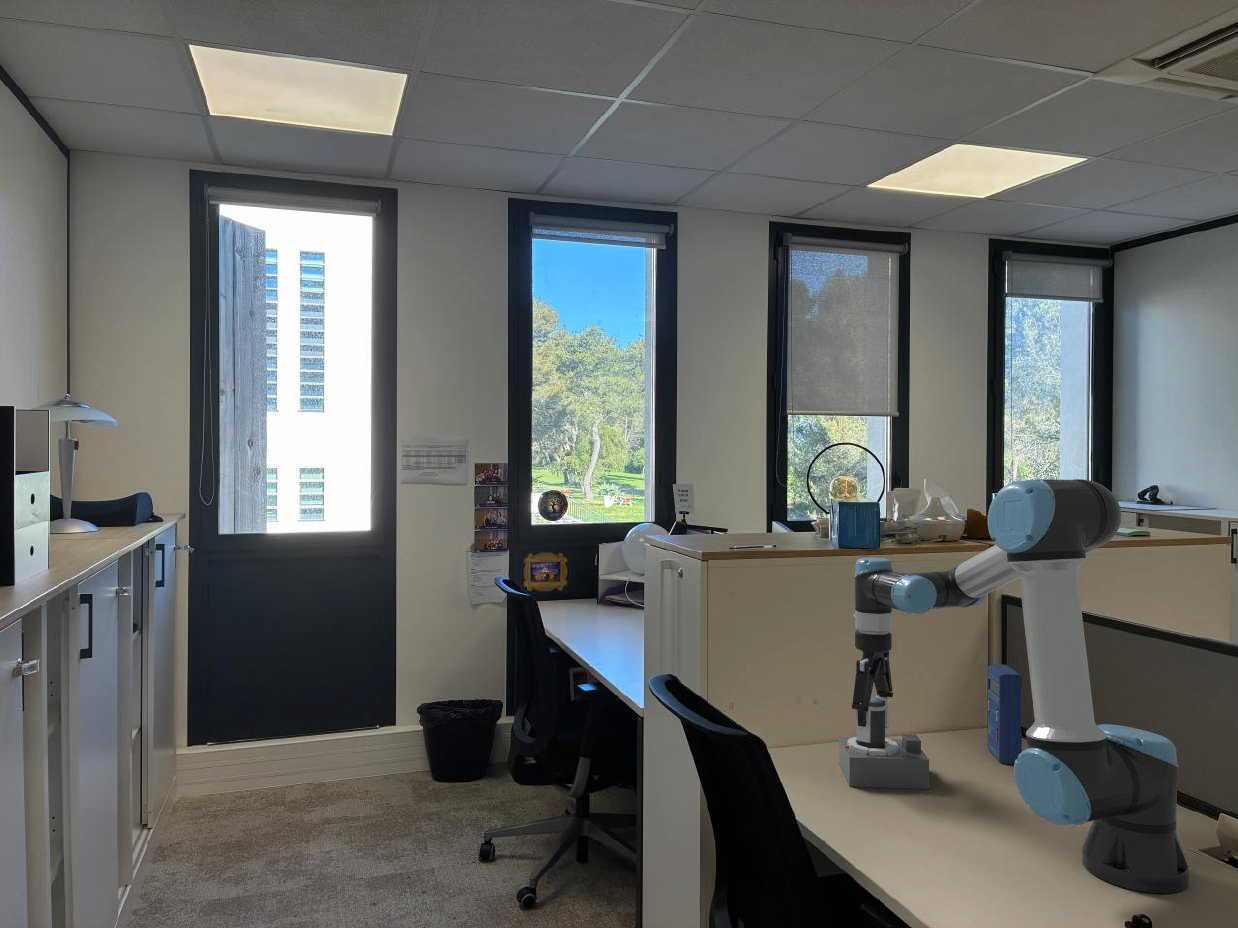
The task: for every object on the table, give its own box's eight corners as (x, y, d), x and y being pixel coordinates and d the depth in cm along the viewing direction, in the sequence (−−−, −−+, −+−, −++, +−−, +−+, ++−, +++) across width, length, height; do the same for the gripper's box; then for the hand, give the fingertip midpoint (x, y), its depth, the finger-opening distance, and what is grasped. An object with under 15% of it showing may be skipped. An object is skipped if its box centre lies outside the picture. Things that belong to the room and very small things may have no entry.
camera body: (929, 788, 180) (929, 747, 180) (849, 786, 182) (849, 745, 182) (913, 766, 193) (913, 728, 193) (839, 764, 195) (839, 726, 195)
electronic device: (985, 749, 204) (986, 663, 204) (1009, 750, 204) (1009, 664, 204) (998, 763, 195) (999, 673, 195) (1022, 764, 194) (1023, 674, 194)
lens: (888, 746, 188) (889, 699, 188) (880, 753, 184) (881, 704, 184) (865, 742, 191) (865, 695, 191) (856, 748, 187) (856, 700, 187)
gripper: (874, 620, 199) (874, 717, 199) (835, 637, 180) (835, 745, 180) (907, 624, 195) (907, 723, 195) (871, 642, 176) (871, 752, 176)
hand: (872, 733), depth 188 cm, fingers open, 11 cm apart
